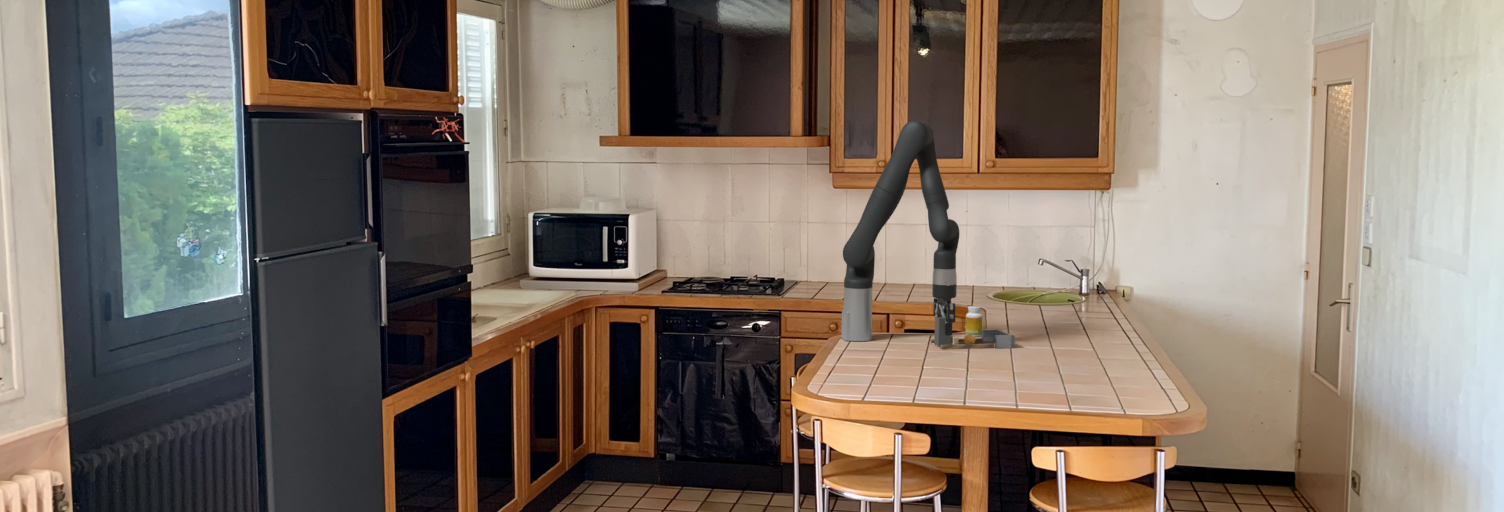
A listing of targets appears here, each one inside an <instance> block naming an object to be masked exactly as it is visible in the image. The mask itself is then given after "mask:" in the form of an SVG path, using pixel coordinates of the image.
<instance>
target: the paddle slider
mask: <svg viewBox="0 0 1504 512" xmlns="http://www.w3.org/2000/svg"><path fill="white" fill-rule="evenodd" d="M949 319H950V318H949ZM934 339H935V340H934V344H935V345H934V344H933V345H934V346H936V345H937V346H936V347H938V346H940V345H956V344H959V343H958V339H959V337H957V336H955V335H954V334H952V335H950V336H946V335H945V320H944V318H943V317H935V316H934Z"/></svg>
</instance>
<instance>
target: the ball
mask: <svg viewBox="0 0 1504 512" xmlns="http://www.w3.org/2000/svg"><path fill="white" fill-rule="evenodd" d="M975 338H976V337H974V336H973V335H971V334H968V335H965V336H964V337H963V339H964V342H965V343H964V344H976V343H975Z"/></svg>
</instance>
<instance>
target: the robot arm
mask: <svg viewBox="0 0 1504 512" xmlns="http://www.w3.org/2000/svg"><path fill="white" fill-rule="evenodd" d="M915 160H916V161H917V165H918V170H919V178H920V179H919V180H920V187H921V193H922V195H923V196H922V197H923V199H924V202H925V207H926V209H927V220H928V222H927V223H928V229H929V232H930V235H931V237H932V239H933V240H935V241H936V242H938V243H937V249H936V250H935V251H934V253H933V269H932V291H931V292H932V293H931V294H932V297H933V307H932V309H933V311H932V313H933V314H932V316H933V317H934V318H935V317H943V318H944V320H945V335H946V336H950V335H953V324H954V323H956V303H953V302H952V299H955V298H956V297H957V279H958V277H957V252H958V246H959V242H960V241H959V240H960V228H959V225H958V223H957V221H955V220H954V219H950V218H949V217H948V216H949V215H948V210H949V207H950V203H949V199H948V196H947V193H946V188H945V186H944V182H943V179H942V176H941V172H940V169H939V168H940V167H939V164H938V157H937V153H936V146H935V137H934V130H933V129H932V127H931V126H930V124H929V123H927V122H925V121H923V120H922V121H921V120H917V119H915V120H910V121H908V122H907V123H905V124H904V125H903V126H902V128H901V130H900V131H899V135H898V138H897V139H896V143H895V145H894V148H893V151H892V153H891V156H890V158H889V160H888V162H887V163H886V165H885V167H884V168H883V170H882V172H881V174H880V176H879V178H878V180H877V182H876V183H875V186H874V188H873V190H872V191H871V194H870V196H869V199H868V200H867V202H866V205H865V207H864V210H863V211H862V212H863V213H862V214H861V218H860V220H859V221H858V223H857V226H856V227H855V229H854V230H853V232H852V234H851V235H850V237H849V239H848V240H847V242H846V243H845V244H844V246H843V249H842V258H843V261H844V263H845V264H846V271H845V276H844V279H843V309H841V339H843V340H844V341H845V342H846V341H847V342H849V341H850V342H868V341H869V342H870V341H871V340H872V335H873V334H872V331H873V330H872V329H873V328H872V325H873V323H872V322H873V321H872V320H873V281H874V276H875V258H876V257H875V256H876V255H875V252H876V251H875V248H874V245H875V243H876V240H877V238H878V235H879V233H880V232H881V231H882V229H883V228H884V226H885V225H886V224H887V222H888V221H889V219H890V218H891V217H892V215H893V214H894V212H895V211H896V209H897V208H898V206H899V203H900V202H901V200H902V198H903V196H904V193H905V191H906V188H907V184H908V179H909V175H910V171H911V168H912V165H913V164H914V162H915ZM949 318H950V319H949Z"/></svg>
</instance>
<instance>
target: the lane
mask: <svg viewBox="0 0 1504 512" xmlns="http://www.w3.org/2000/svg"><path fill="white" fill-rule="evenodd" d="M934 340H935V338H933V339H931V338H930V340H929V342H931V343H934ZM931 343H930V344H931ZM940 348H941V349H940ZM939 349H940V350H962V349H963V350H965V349H966V350H971V349H976V350H977V349H995V343H984V342H983V339H982V337H981V338H980V337H977V338H976V337H975V343H974V344H965V342H964V338H958V344H956V345H940V347H939Z"/></svg>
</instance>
